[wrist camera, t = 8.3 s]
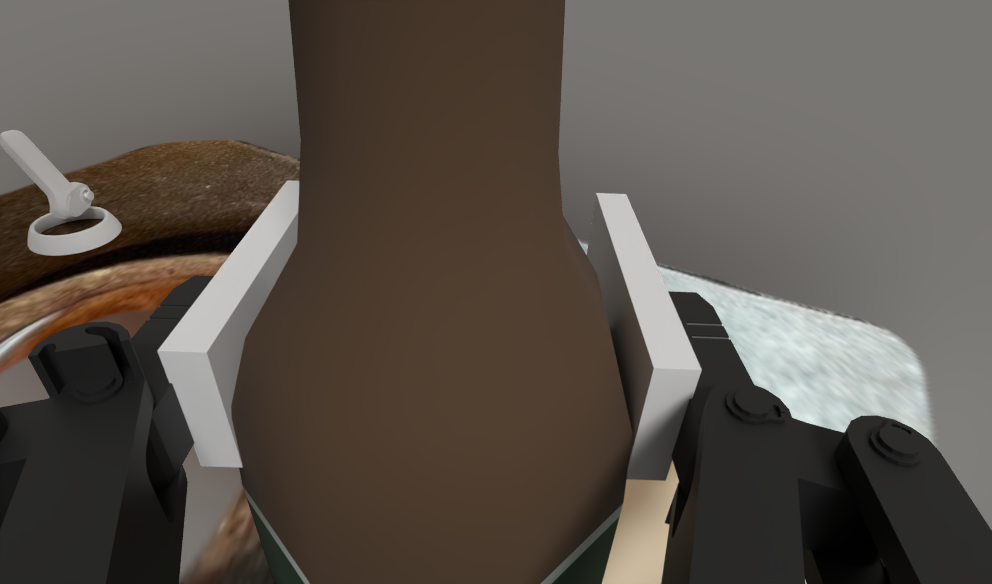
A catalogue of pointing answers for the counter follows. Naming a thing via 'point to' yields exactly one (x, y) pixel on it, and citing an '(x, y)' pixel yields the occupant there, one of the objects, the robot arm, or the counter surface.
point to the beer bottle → (432, 314)
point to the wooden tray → (642, 532)
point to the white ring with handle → (59, 202)
